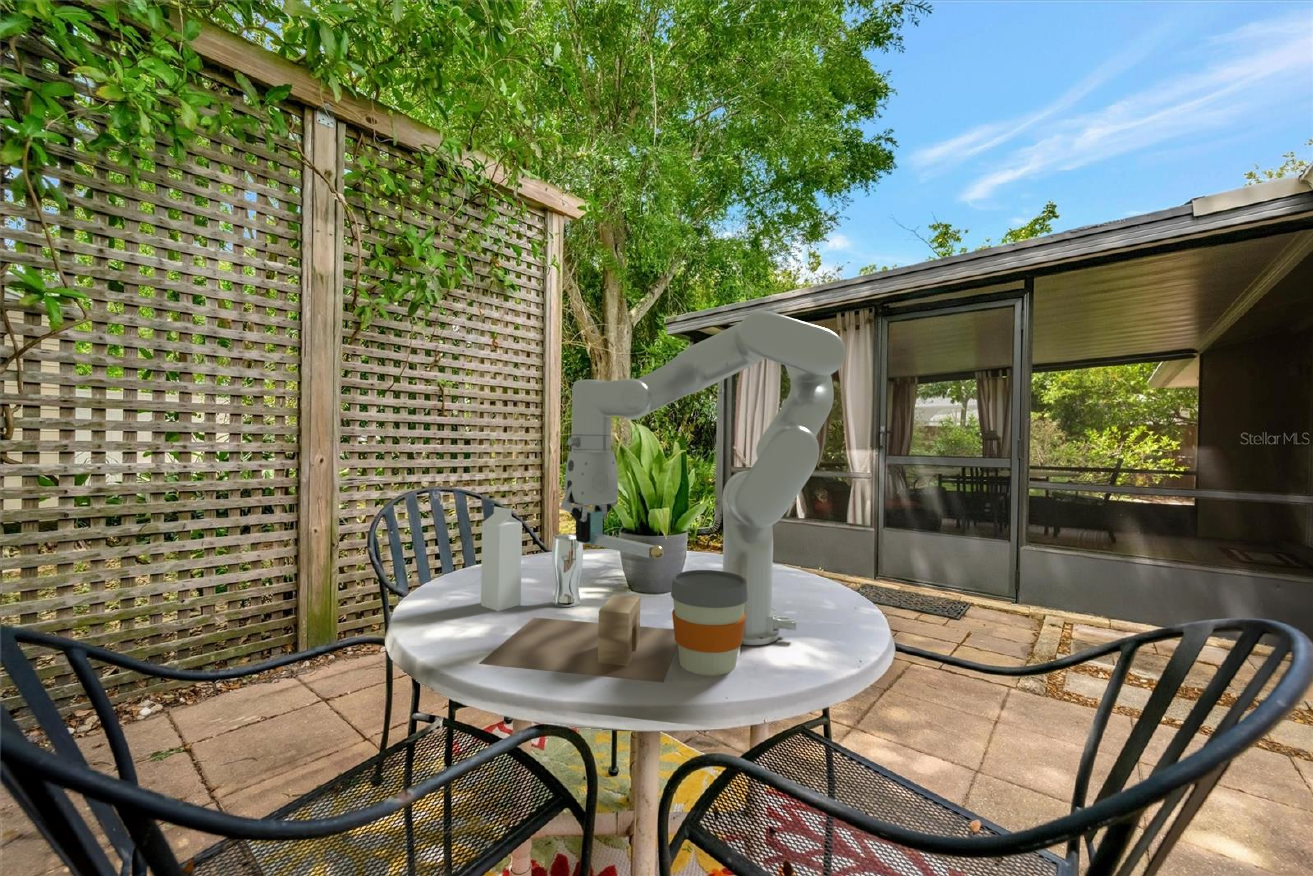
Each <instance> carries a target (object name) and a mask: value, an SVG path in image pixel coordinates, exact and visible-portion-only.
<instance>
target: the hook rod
mask: <svg viewBox="0 0 1313 876" xmlns="http://www.w3.org/2000/svg"><path fill="white" fill-rule="evenodd" d="M580 512H581V509H580ZM586 521H588V522H589V541H588V543H584V542H580V543H583V544H586V545H589V546H592V545H594V546H598V547H601V548H605V549H609V550H610V549H611V550H614V551H619V552H623V553H625V554H631V555H634V556H635V555H636V556H639V557H642V558H648V559H651V558H654V559H657V560H658V559H661V558H662V557H663V555H664V553H665V551H664V548H663V547H662V546H661V545H659V544H658V545H657V544H656V545H653V544H648V543H644V542H640V541H635V540H630V539H626V538H622V537H618V536H617V537H616V536H612V535H607V534H605V533H604V534H603V511H597V510H593V509H592V508H590V509H589V508H588V510H587V520H586ZM577 542H579V541H577Z"/></svg>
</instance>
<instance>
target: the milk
mask: <svg viewBox="0 0 1313 876" xmlns="http://www.w3.org/2000/svg"><path fill="white" fill-rule="evenodd" d="M481 524H482V525H481V568H480V569H481V571H480V572H481V576H480V606H481V607H484V608H488V609H490V610H493V611H497V612H500V611H503V610H507V609H510V608H513V607H518V606H519V607H521V605H522V604H521V601H522V600H521V599H522V598H521V597H522V556H523V555H522V547H523V546H522V545H523V544H522V543H523V523H522V521H520V520H518V519H516V518H515V517H513V516H512V509H511V508H505V507H499V506H494V507H493V514H491V515H490V516H488V518H486V519H485V520H484V521H482V523H481Z"/></svg>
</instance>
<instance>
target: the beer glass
mask: <svg viewBox="0 0 1313 876" xmlns="http://www.w3.org/2000/svg"><path fill="white" fill-rule="evenodd" d="M551 546H552V547H551V566H552V573H553V579H554V595H553V600H552V605H554V606H555V607H559V608H572V607H576V606H579V605H580V604H581V597H580V579H581V574H582V569H583V564H584V563H583V562H584V543H580V542H577V540H576V533H566V534H564V533H562V534H556V535H554V536H553V537H552V545H551Z"/></svg>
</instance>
